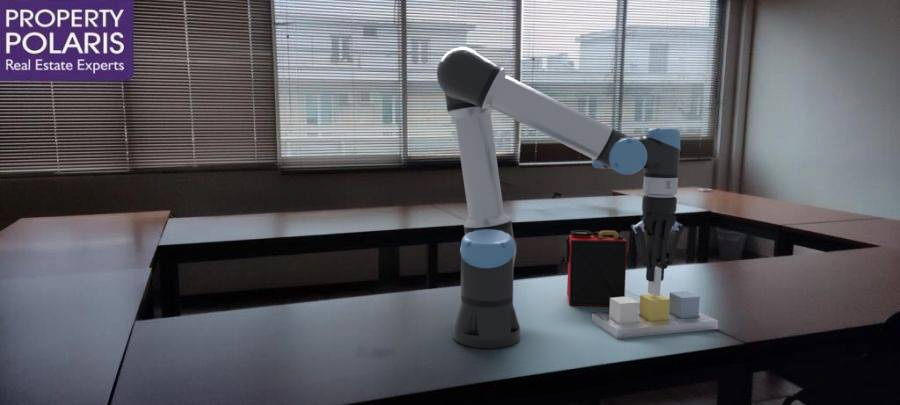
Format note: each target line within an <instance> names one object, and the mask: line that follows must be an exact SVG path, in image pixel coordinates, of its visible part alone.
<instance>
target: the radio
mask: <svg viewBox="0 0 900 405" xmlns="http://www.w3.org/2000/svg"><path fill="white" fill-rule="evenodd" d="M627 244H628V242H627V240H626V239H625V237H624V235H621V233H618V232H617V231H616V230H600V231H595V232H593V231H589V230H584V229H583V230H581V229H576V230H570V234H569V235H568V237H565V244H564V245H565V246H564V256H565V259H564V260H565V263H567V283H566V284H567V287H566V288H567V289H566V294H567V302H568V305H569V306H593V307H594V306H595V307H610V298H614V297H626V295H625V294H626V271H627V270H626V269H627V247H628V246H627Z"/></svg>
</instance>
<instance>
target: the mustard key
mask: <svg viewBox="0 0 900 405" xmlns="http://www.w3.org/2000/svg"><path fill="white" fill-rule="evenodd" d="M639 296H640V298H639V309H640V313H639V315H640V316H642V317H643V318H645V319H647V320H649V321H650V322H653V321H663V320H669V307H670V298H668V297H666V296H664V295H663V294H662V295H661V294H660V296H653V295H651V294H649V293H648V294H640V295H639Z"/></svg>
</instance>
